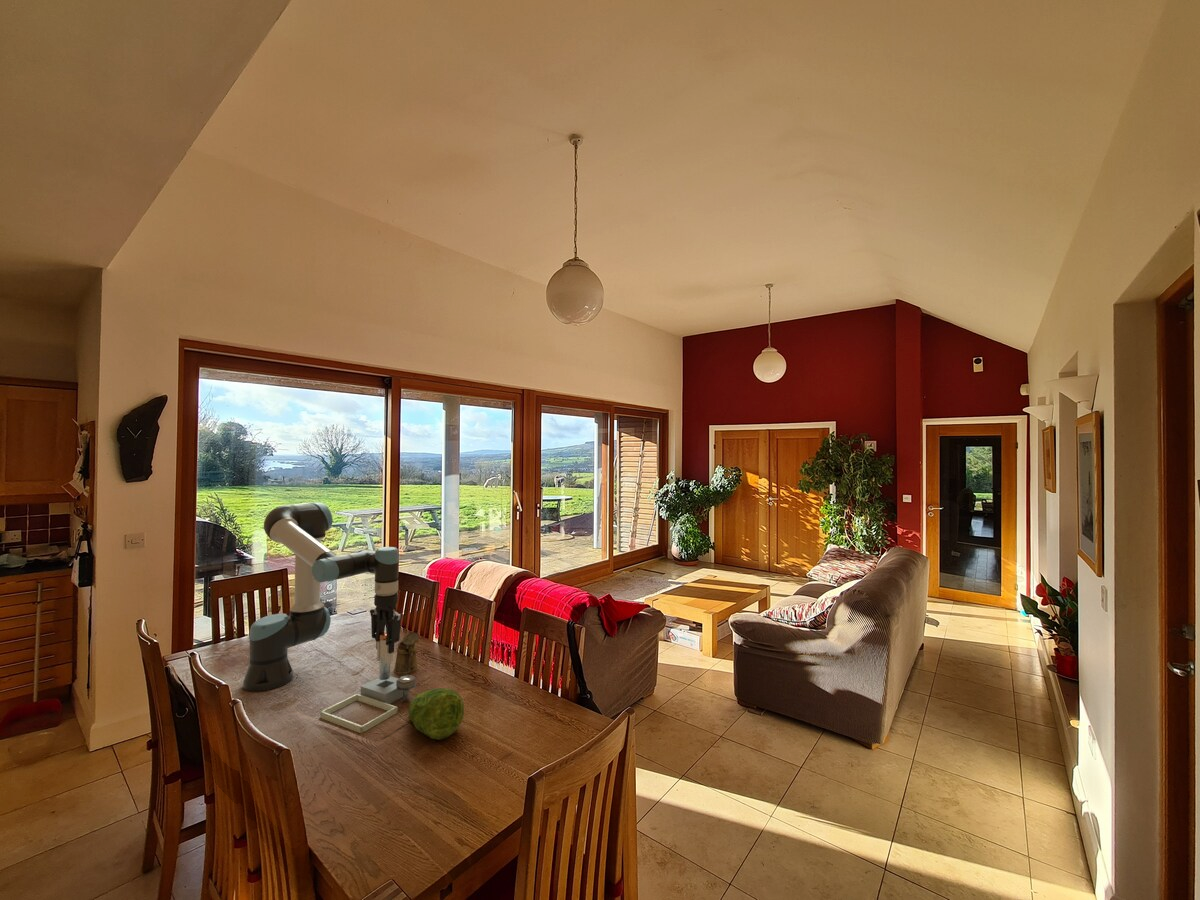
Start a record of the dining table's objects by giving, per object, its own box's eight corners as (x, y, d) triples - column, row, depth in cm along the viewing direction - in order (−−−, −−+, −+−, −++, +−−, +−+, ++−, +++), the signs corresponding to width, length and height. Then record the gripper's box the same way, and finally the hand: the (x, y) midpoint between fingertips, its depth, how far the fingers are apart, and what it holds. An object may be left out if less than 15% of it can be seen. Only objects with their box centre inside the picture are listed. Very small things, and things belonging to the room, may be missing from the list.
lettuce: (435, 721, 163) (437, 678, 167) (470, 735, 147) (471, 687, 150) (392, 731, 154) (395, 685, 157) (424, 747, 138) (427, 695, 141)
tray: (320, 720, 155) (320, 711, 155) (357, 701, 167) (357, 693, 167) (361, 736, 147) (361, 727, 147) (397, 715, 159) (397, 706, 159)
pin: (376, 678, 169) (377, 635, 169) (385, 674, 172) (386, 631, 172) (383, 681, 167) (384, 637, 167) (393, 676, 171) (394, 633, 171)
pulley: (391, 705, 165) (392, 680, 165) (406, 697, 171) (407, 672, 171) (405, 709, 162) (405, 684, 162) (420, 701, 168) (420, 676, 168)
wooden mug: (399, 684, 180) (400, 634, 180) (390, 670, 191) (391, 624, 191) (424, 677, 185) (425, 630, 185) (414, 665, 196) (415, 619, 196)
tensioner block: (360, 701, 168) (360, 686, 168) (385, 688, 177) (385, 674, 177) (385, 709, 162) (385, 694, 162) (409, 696, 171) (409, 681, 171)
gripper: (360, 592, 170) (359, 659, 170) (394, 599, 163) (392, 670, 163) (378, 586, 177) (377, 652, 177) (412, 593, 169) (410, 661, 169)
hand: (384, 660), depth 170 cm, fingers closed on pin, 3 cm apart
